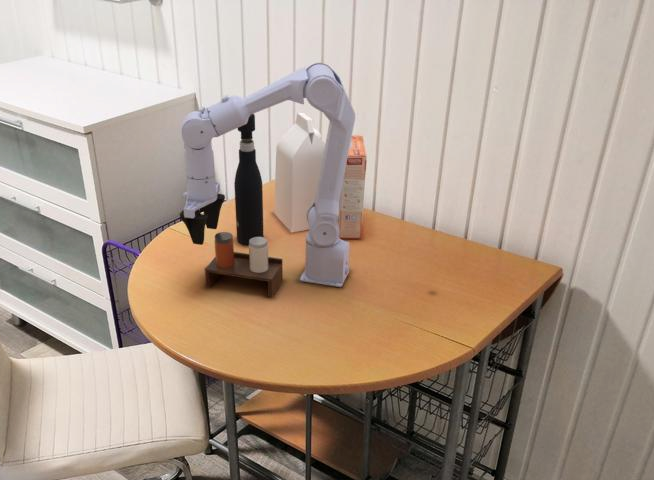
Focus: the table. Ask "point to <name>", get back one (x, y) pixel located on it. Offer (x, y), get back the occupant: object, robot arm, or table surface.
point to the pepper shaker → (224, 249)
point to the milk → (297, 173)
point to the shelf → (248, 271)
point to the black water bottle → (248, 188)
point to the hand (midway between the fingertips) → (205, 235)
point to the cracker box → (353, 190)
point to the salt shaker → (258, 254)
